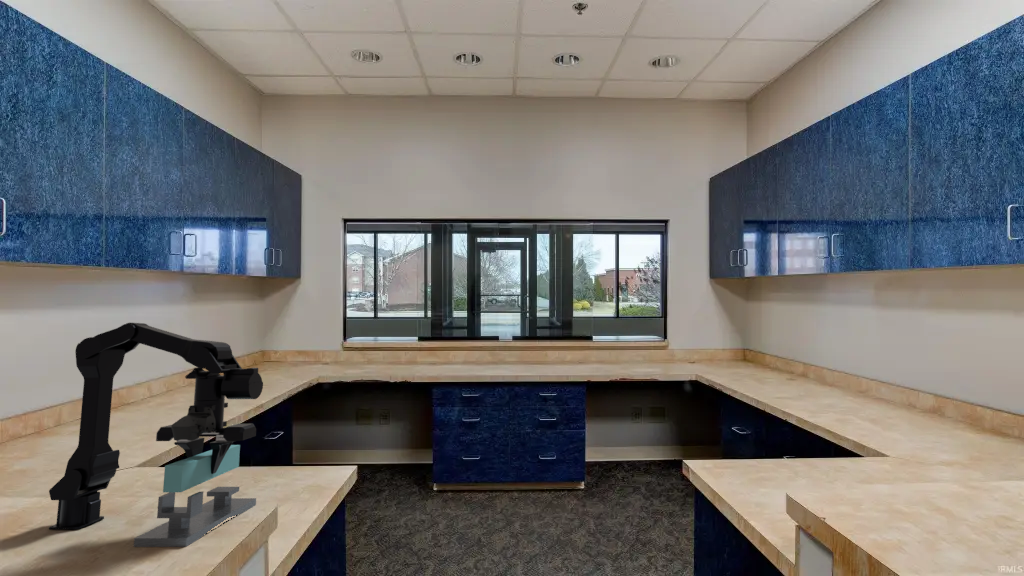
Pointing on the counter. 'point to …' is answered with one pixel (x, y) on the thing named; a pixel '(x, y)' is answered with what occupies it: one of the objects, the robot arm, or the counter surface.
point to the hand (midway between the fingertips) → (204, 473)
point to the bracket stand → (192, 517)
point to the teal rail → (197, 470)
